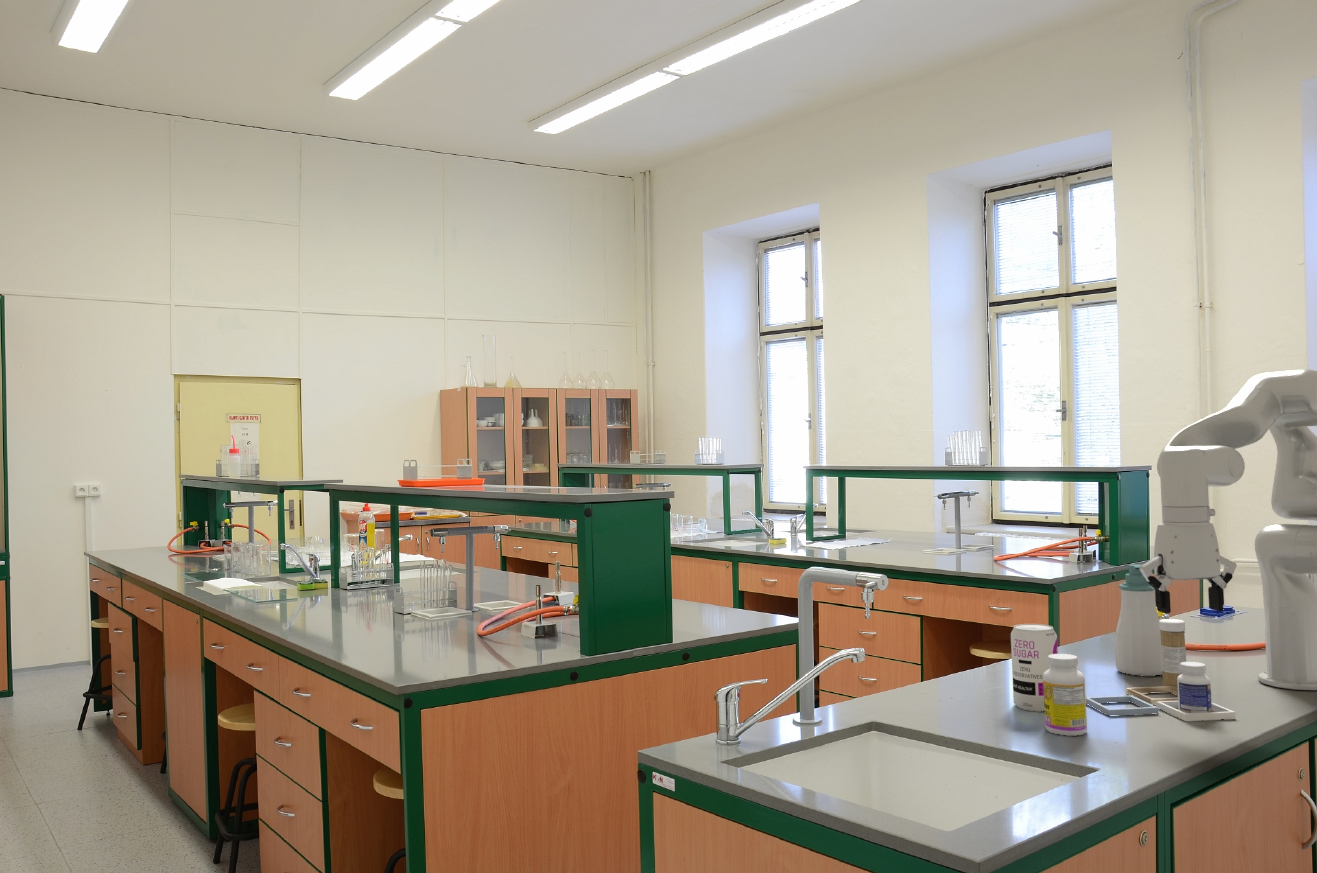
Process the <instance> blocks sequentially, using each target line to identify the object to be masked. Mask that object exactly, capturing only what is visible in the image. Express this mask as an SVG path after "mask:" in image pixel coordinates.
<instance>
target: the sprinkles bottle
mask: <svg viewBox="0 0 1317 873" xmlns="http://www.w3.org/2000/svg"><path fill="white" fill-rule="evenodd" d="M1159 620H1160V621H1159V629H1160V632H1161V662H1162V674H1163V675H1162V685H1161V686H1172V687H1175V688H1177V689H1178V686H1177V678H1178V676H1179V675H1181V674H1182V672H1181V669H1180V663H1182V662H1187V648H1186V647H1187V646H1186V638H1185V633H1186V623H1185V621H1184V620H1182V619H1176V618H1163V619H1159Z"/></svg>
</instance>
